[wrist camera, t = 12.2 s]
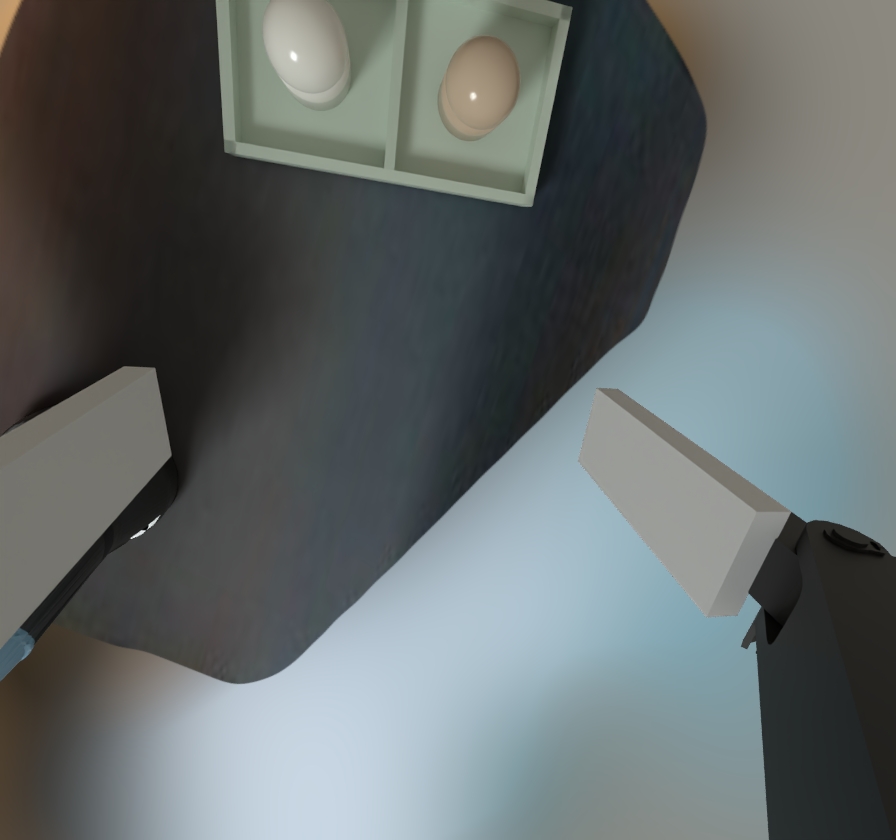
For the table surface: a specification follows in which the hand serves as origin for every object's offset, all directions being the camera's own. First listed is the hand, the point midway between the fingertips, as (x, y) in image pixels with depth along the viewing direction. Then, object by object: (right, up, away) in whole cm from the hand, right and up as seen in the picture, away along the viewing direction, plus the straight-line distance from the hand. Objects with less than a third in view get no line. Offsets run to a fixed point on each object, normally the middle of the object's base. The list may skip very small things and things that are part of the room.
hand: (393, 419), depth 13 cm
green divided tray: (-2, +26, +21) cm, 33 cm away
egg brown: (+3, +25, +21) cm, 33 cm away
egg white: (-8, +26, +19) cm, 33 cm away
